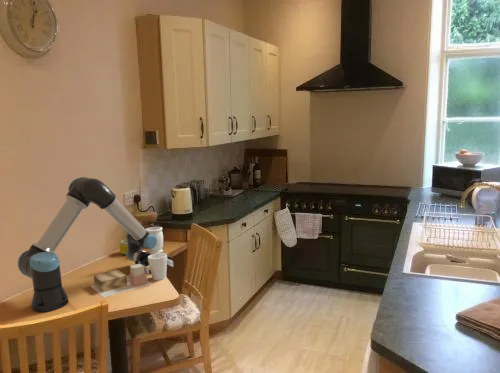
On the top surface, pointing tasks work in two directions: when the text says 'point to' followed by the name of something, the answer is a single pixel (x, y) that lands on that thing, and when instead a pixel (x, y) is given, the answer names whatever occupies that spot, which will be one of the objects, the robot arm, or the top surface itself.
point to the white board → (118, 290)
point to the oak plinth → (110, 280)
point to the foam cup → (158, 265)
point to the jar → (159, 235)
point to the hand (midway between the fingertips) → (160, 267)
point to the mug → (124, 246)
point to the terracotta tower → (137, 275)
